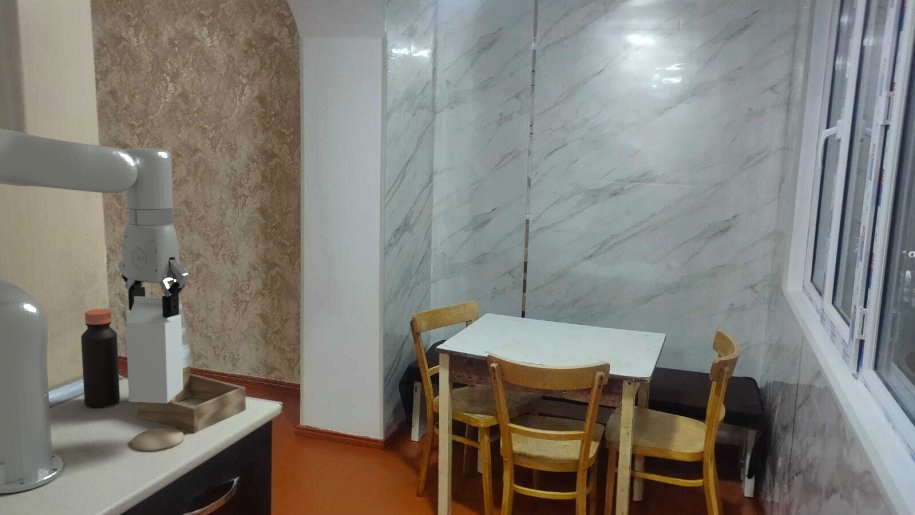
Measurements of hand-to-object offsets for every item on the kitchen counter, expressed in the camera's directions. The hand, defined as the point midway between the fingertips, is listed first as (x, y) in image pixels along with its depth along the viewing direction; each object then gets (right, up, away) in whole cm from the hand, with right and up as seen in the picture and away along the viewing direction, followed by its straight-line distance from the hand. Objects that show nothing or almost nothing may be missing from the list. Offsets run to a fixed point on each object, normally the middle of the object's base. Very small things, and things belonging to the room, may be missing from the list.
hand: (154, 312), depth 128 cm
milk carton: (-1, -16, +3) cm, 16 cm away
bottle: (-20, -21, +21) cm, 36 cm away
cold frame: (-1, -22, +19) cm, 29 cm away
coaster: (-1, -25, +4) cm, 25 cm away
